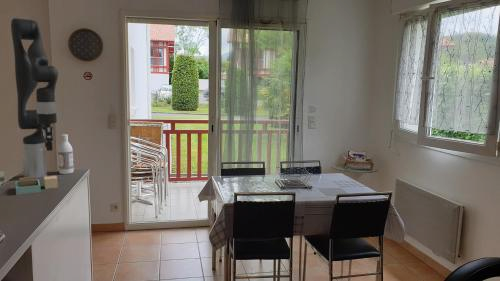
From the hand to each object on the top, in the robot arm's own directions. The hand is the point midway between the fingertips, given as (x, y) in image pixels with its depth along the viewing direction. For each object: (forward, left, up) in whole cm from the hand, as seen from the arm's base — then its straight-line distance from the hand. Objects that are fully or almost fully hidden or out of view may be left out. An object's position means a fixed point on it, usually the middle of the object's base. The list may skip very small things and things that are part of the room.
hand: (48, 148), depth 170 cm
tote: (-5, -8, -18) cm, 20 cm away
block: (-5, -8, -17) cm, 20 cm away
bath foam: (-16, +24, -18) cm, 34 cm away
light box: (0, 0, -18) cm, 18 cm away
